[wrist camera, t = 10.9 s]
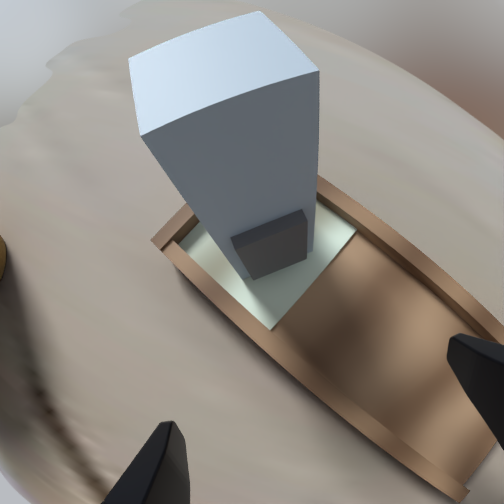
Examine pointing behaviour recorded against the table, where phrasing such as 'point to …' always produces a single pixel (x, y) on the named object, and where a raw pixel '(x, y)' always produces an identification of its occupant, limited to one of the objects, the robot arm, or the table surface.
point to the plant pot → (2, 256)
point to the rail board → (359, 331)
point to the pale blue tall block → (236, 136)
